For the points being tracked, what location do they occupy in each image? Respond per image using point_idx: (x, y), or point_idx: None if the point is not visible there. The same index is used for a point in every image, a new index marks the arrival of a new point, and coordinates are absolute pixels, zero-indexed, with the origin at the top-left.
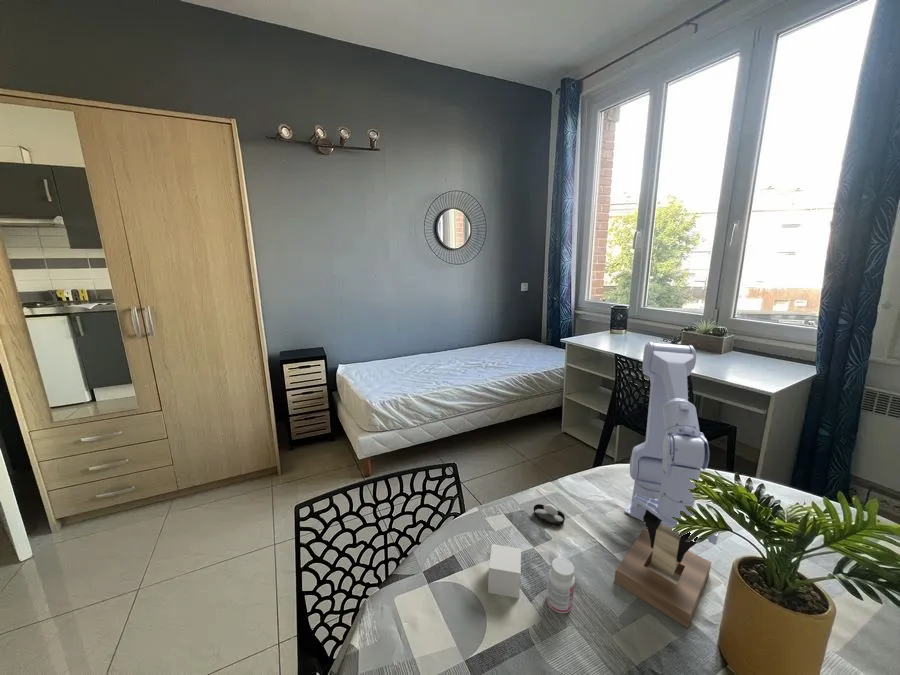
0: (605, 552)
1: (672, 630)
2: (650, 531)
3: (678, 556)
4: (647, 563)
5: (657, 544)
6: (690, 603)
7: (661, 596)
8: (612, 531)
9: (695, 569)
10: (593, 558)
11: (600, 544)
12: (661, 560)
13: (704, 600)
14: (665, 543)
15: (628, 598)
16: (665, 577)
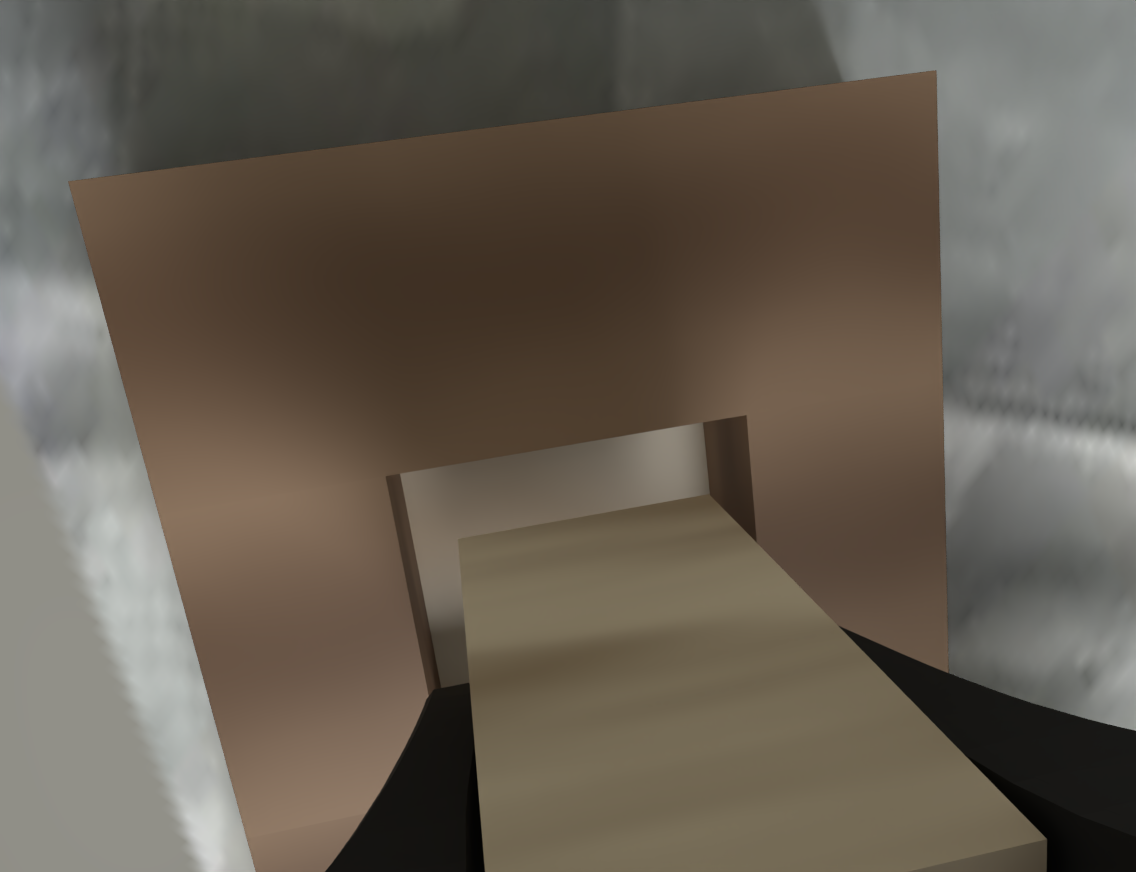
0: (1057, 375)
1: (210, 27)
2: (1046, 728)
3: (460, 726)
4: None
5: (788, 641)
6: (154, 345)
7: (406, 148)
8: (1111, 669)
9: None
10: (1111, 199)
11: (1130, 426)
12: (625, 552)
13: None
14: (702, 721)
15: (664, 22)
16: None
